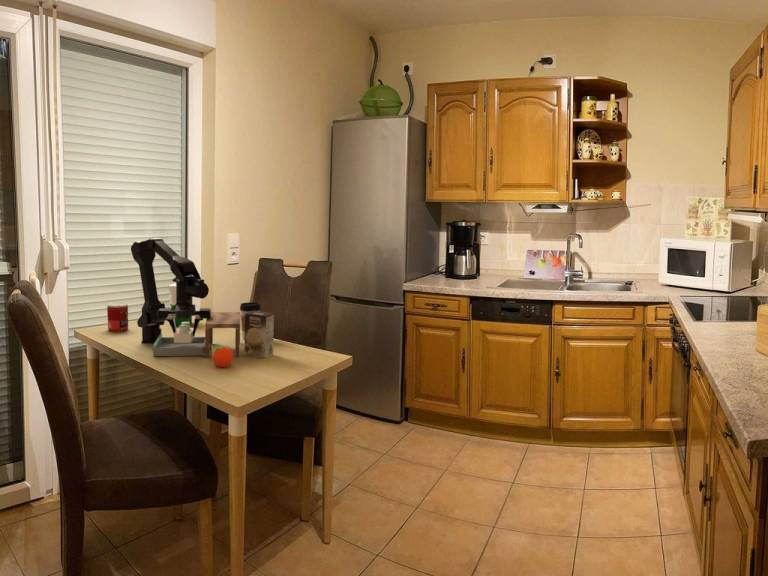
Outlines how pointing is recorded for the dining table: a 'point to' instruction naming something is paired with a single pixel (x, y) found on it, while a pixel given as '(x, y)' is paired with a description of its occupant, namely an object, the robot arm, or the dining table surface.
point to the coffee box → (259, 334)
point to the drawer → (178, 347)
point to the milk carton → (173, 303)
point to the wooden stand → (222, 322)
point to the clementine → (222, 356)
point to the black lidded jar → (245, 309)
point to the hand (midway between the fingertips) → (184, 335)
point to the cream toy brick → (184, 333)
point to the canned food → (117, 316)
